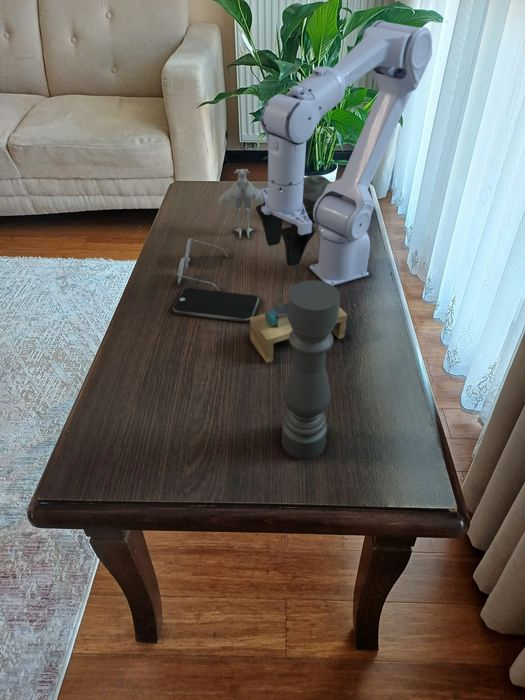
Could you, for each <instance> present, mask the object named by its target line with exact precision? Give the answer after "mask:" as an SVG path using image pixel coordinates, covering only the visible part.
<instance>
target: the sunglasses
mask: <svg viewBox="0 0 525 700" xmlns="http://www.w3.org/2000/svg"><path fill="white" fill-rule="evenodd" d="M192 241H194V242H197V243H201V244H204V245H208V246H213V247H215V248H218V249H221V250H222V251H223V253H224V255H225V257H226V258H229V255H228V254H227V253H226V251H225V250H224V248H222V247H220V246H217V245H213V244H210V243H206V242H203V241H201V240H196V239H193V238H191V237H189V238H188V240H187V244H186V250H185V256H184V257H181V259H180V261H179V266H178V272H177V285H180V283H181V280H182V278H186V279H190V280H193V281H200V282H203V283H206V284H211V285H213V286H214V287H215V289H216V290H217V292H221V291H220V289H218V287H217V286H216V284H215V283H213V282H210V281H206V280H200V279H197V278H193V277H189V276H185V275H183V273H184V272H183V271H184V270H185V271H186V270H188V269H189V263H190V262H191V257H189V256H190V252H191V245H192Z"/></svg>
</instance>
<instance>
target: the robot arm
mask: <svg viewBox="0 0 525 700" xmlns="http://www.w3.org/2000/svg"><path fill="white" fill-rule="evenodd" d="M431 33H432V32H431V31H430V29H429V28H428V27H425V26H419V27H418V26H414V25H413V26H412V25H406V24H400V23H394V22H389V21H388V22H387V21H386V20H382V19H378V20H376V21H374V22H373V23H372V24H371V25H370V26H368V27H366V28H365V29H364V31H363V34H362V38H361V41H360V42H359V43H357V44H356V45H355V46H354V47H353V48H352V49H351V50H350V51H349V52H347V54H345V56H343V57H342V58H341V59H340V60H339V61H338V62H337V63H336V64H334V65H333V67H331V66H327V65H323V66H320V65H318V66H316V67H315V68H314V69H312V73H311V74H310V75H308V76H307V77H306V78H305V79H303V80H302V81H301V82H300V83H298V84H297V85H294V86H293V87H291V88H290V90H289V91H288V92H287V93H286V94H283V93H278V94H275V95H274V96H272V97H270V98H269V99H268V100H267V102H266V103H265V105H264V107H263V110H262V115H261V116H260V117H259V123H260V127H261V129H262V130H263V132H264V134H265V143H266V144H267V147H268V152H267V153H268V155H267V160H268V161H267V187H265V188H260V191H261V200H262V201H263V204H259V205H257V206H255V211H256V212H257V214H258V216H259V218H260V221H261V223H262V228H263V232H264V235H265V241H266V243H267V245H268V246H269V247H271V246H275V245H279V244H280V243H281V239H283V243H284V249H285V260H286V264H287V266H288V267H294V266H296V265H297V266H298V265H300V262H301V261H302V258H303V255H304V252H305V250H306V247H307V245H308V243H309V242H310V240H311V239H312V238H313V236H314V235H315V234H316V227H314V226H313V221H314V223H315V224H316V225H317V231H318V232H320V238H319V251H318V263H313V264H310V265H309V269H310V270H311V271H312V272H313V273H314V274H315V275H316V276H317V277H318V278H319V279H320V281H322V282H326V283H329V284H331V285H332V286H334V287H335V286H337V285H340V284H344V283H347V282H350V281H354V280H358V279H361V278H364V277H368V276H369V275H370V273H369V272H368V264H369V256H370V252H371V239H370V235H369V234H368V229H369V227H370V223H371V219H372V218H371V217H372V214H373V211H374V208H375V206H376V204H375V202H374V200H373V197H372V196H371V193H370V191H369V188H370V185H371V183H372V181H373V178H374V177H375V174H376V172H377V170H378V168H379V165H380V163H381V161H382V159H383V156H384V155H385V153H386V151H387V148H388V146H389V144H390V141H391V139H392V137H393V135H394V132H395V131H396V128H397V126H398V123H399V122H400V119H401V117H402V115H403V112H404V110H405V109H406V107H407V104H408V102H409V100H410V98H411V95H412V93H413V91H415V90H417V89H418V87H419V84H420V82H421V80H422V78H423V76H424V73H425V71H426V69H427V67H428V65H429V62H430V60H431V58H432V56H433V38H432V34H431ZM368 73H370V74H371V76H372V80H373V81H375V82H376V83H377V86H378V93H377V96H376V98H375V100H374V102H373V104H372V107H371V109H370V112H369V113H368V116H367V117H366V120H365V123H364V125H363V128H362V129H361V132H360V134H359V136H358V139H357V141H356V143H355V146H354V148H353V150H352V153H351V155H350V157H349V160H348V161H347V164H346V166H345V169H344V171H343V173H342V175H341V177H340V178H338V179H336V180H333V181H332V182H331V183H329V184H328V185H327V186H326V188H325V191H324V192H323V194H322V195H321V197H320V198H319V199H318V200H317V202H316V203H315V206H314V209H313V219H314V220H310V219H309V218H308V215H307V213H306V210H305V207H304V204H303V187H304V178H305V169H306V168H305V166H306V151H307V141H309V140H310V138H312V136H313V134H314V132H315V130H316V127H317V125H318V124H320V121H321V120H322V117H324V116H325V115H327V113H329V112H330V111H331V110H332V109H333V108H335V107H336V106H337V105H338V104H339V103H341V102H342V101H343V99H344V97H345V95H346V94H345V93H346V92H345V91H346V88H348V87H349V86H351V85H352V84H354V83H355V82H356V81H359V79H361V78H363V77H364V76H365V75H367V74H368ZM345 198H348V199H350V200H352V201H354V202H355V203H354V202H352V201H349V200H347V199H345ZM262 201H261V202H262ZM284 221H285V222H288V223H290V224H291V225H290V226H288V227H284V228H283V224H284Z"/></svg>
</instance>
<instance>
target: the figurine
mask: <svg viewBox="0 0 525 700" xmlns="http://www.w3.org/2000/svg"><path fill="white" fill-rule="evenodd" d="M233 173H234V174H237V176H238V177H237V180H236V181H235V182H234V183H233V185H232V186H231V187H230V188H228V189H226V190H225V191H224V192H223V194H221V195H220V196H219V197H218V200H217V204H218V205H219V206H220V205H223V206H225V204H227V203H228V205H231V204H233V203H234V202H235V209H236V213H237V214H238V227H237V228H235V229H234V231H235V232H237V233H238V234H239V239H241V237H242V231H243V230H242V226H241V210H242V205H243V203H244V206H245V210H246V224H247V225H246V228H245V231H246V235H247V239H250V233H251V232H252V231H254V229H253V228H251V227H250V225H249V222H250V221H249V213H250V212H251V204H252V203H251V202H252V201H253V203H255V204H256V205H257V204H258V203H261V205H263V203H264V201H262V200H261V189H259V188H256V187H255V186H254V185H253V184H252V183H251V182H250V181H249V180H248V179H247V174H250V173H251V171H249V170H248V169H247V168H240V169H239V168H237V169H236V170H235V171H233ZM251 199H252V200H251Z"/></svg>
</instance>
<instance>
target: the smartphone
mask: <svg viewBox="0 0 525 700" xmlns="http://www.w3.org/2000/svg"><path fill="white" fill-rule="evenodd" d="M259 301H260V299H259V296H258V297H257V296H256V295H252V294H244V293H235V292H234V293H233V292H225V291H218V290H217V291H216V290H209V289H198V288H191V287H190V288H185V289H183V290H182V291H181V293H180V295H179V297H178V298H177V300H176V302H175V304H174V306H173V307H172V309H173V310H172V311H173V313H174V314H177V315H184V316H192V317H200V318H206V319H207V318H209V319H214V320H215V319H216V320H223V321H224V320H225V321H232V322H240V323H248V322H249V323H250V318H251V317H255V313H256V311H257V308H258V305H259Z"/></svg>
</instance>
